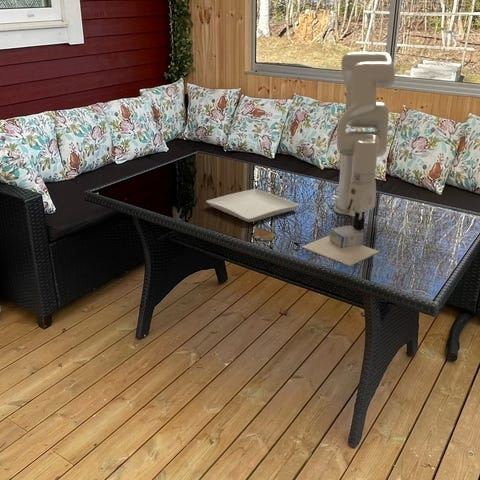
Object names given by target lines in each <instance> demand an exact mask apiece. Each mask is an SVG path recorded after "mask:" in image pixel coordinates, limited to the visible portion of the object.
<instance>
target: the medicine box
mask: <svg viewBox="0 0 480 480" xmlns="http://www.w3.org/2000/svg"><path fill="white" fill-rule="evenodd" d="M353 226H354V225H353ZM353 226H352V225H350V224H349V225H345V226H343V225H342V226H337V227H331V228H330V229H329V235H330V240H331V241H332V242H333V243H335V244H336V245H338V246H339V247H341V248H345V247H351V246H356V245H363V243H364V232H362V230H357V229H354V228H353Z"/></svg>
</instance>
